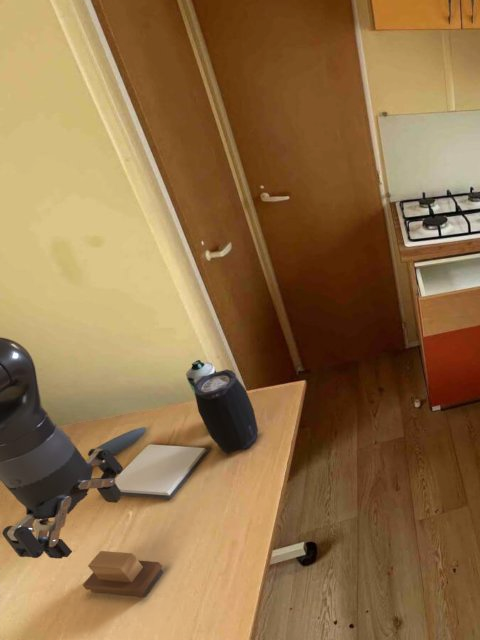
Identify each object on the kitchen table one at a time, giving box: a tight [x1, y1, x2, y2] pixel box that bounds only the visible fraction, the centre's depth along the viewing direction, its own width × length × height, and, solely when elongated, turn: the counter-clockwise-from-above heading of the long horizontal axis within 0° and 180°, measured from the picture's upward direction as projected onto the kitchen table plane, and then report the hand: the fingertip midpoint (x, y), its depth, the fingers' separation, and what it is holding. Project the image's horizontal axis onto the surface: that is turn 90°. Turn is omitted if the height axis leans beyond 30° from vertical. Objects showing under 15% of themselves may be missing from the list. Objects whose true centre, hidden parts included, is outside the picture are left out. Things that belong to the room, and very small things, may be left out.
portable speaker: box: [194, 368, 259, 455], centre depth 98 cm, size 9×9×20 cm
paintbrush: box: [83, 426, 147, 467], centre depth 96 cm, size 20×5×5 cm, turn 158°
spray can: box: [185, 359, 217, 395], centre depth 103 cm, size 6×6×20 cm
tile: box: [115, 443, 211, 500], centre depth 95 cm, size 15×12×2 cm
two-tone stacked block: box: [82, 550, 164, 598], centre depth 74 cm, size 4×10×8 cm, turn 86°
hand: (90, 526), depth 69 cm, fingers open, 8 cm apart
